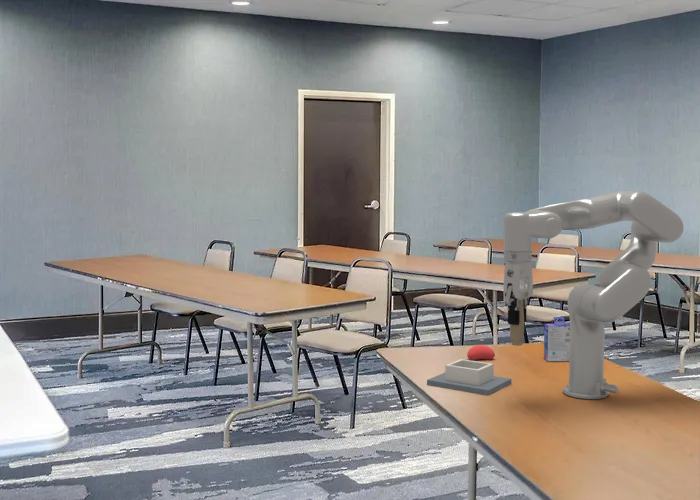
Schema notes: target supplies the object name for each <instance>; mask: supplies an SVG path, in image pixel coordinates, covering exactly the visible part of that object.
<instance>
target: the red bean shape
mask: <svg viewBox="0 0 700 500" xmlns="http://www.w3.org/2000/svg"><path fill="white" fill-rule="evenodd" d="M495 356H496V355H495V351H494V350H493V349H492V348H491V347H489V346H488V345H483V344H478V345H474V346H472V347H470V348H469V349H468V351H467V356H466V357H467V359H468V360H470V361H479V360H483V361H484V360H485V361H489V360H493V359H494V358H495Z"/></svg>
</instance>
